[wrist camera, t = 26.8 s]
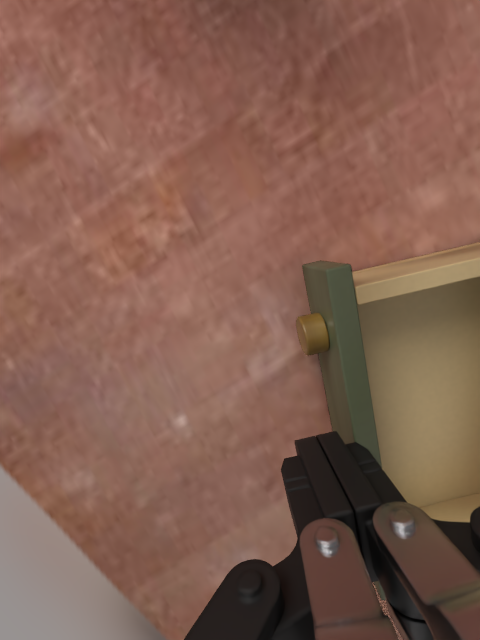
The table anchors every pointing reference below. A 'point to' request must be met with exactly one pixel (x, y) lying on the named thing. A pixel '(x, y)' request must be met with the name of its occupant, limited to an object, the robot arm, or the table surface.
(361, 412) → the drawer
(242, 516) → the table surface
